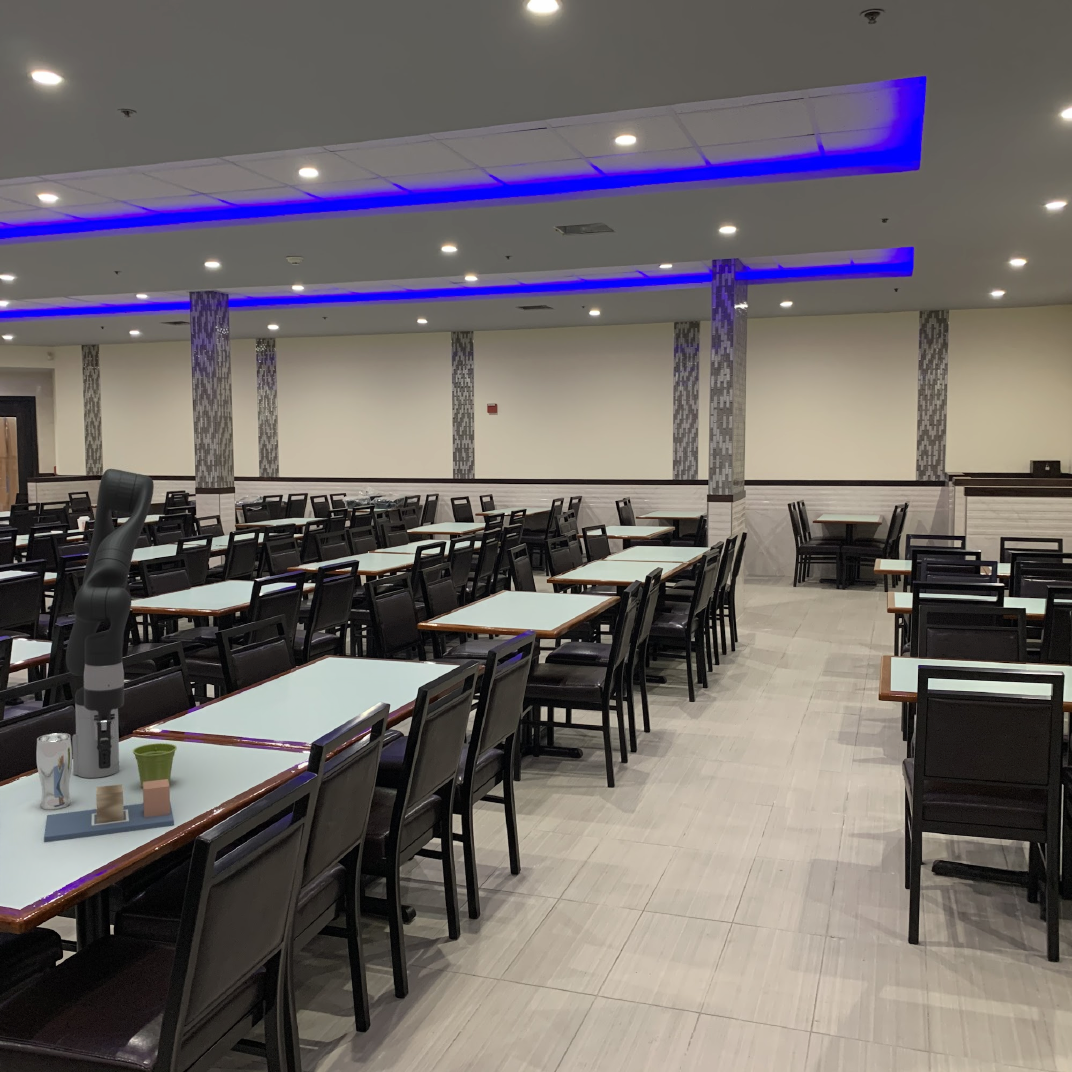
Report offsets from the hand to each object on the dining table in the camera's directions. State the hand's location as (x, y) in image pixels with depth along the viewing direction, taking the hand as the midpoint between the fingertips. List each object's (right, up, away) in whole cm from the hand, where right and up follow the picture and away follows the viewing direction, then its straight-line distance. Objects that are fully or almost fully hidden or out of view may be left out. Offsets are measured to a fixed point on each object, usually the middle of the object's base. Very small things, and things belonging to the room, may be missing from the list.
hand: (105, 761), depth 204 cm
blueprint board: (+1, -13, +1) cm, 13 cm away
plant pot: (+1, -11, +24) cm, 27 cm away
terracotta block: (+9, -12, +5) cm, 15 cm away
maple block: (+1, -12, +1) cm, 12 cm away
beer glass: (-15, -12, +11) cm, 23 cm away
